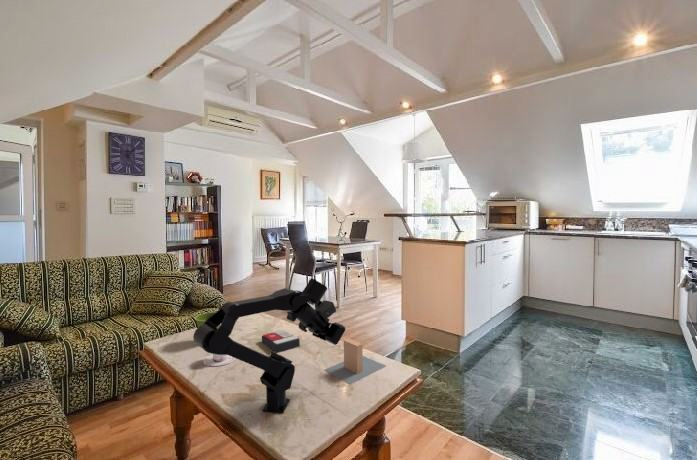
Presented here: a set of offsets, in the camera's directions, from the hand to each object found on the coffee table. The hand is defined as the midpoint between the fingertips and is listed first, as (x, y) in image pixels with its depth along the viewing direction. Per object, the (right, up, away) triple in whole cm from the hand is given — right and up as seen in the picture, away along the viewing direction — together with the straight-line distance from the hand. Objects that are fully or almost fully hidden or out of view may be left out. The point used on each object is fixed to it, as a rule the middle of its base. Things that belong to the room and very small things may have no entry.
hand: (334, 340), depth 118 cm
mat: (+7, -13, +8) cm, 17 cm away
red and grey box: (-25, -12, +31) cm, 42 cm away
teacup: (-46, -13, +17) cm, 50 cm away
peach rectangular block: (+6, -13, +7) cm, 16 cm away
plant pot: (-57, -12, +36) cm, 69 cm away
